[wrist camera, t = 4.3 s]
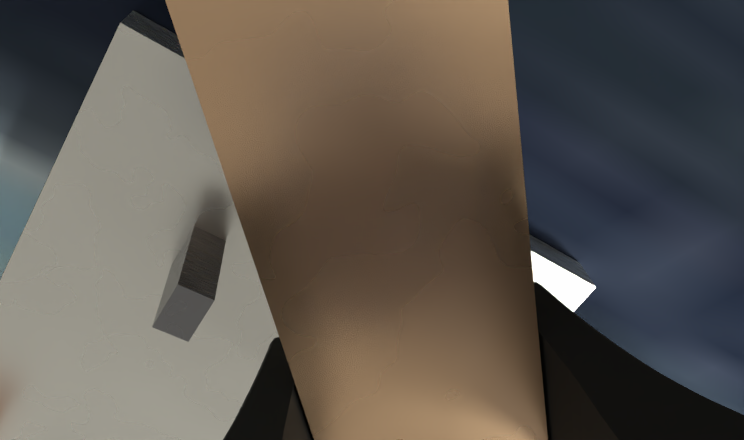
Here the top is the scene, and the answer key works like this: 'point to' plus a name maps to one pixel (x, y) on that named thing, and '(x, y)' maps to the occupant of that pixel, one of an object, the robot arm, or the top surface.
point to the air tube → (380, 206)
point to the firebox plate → (146, 269)
